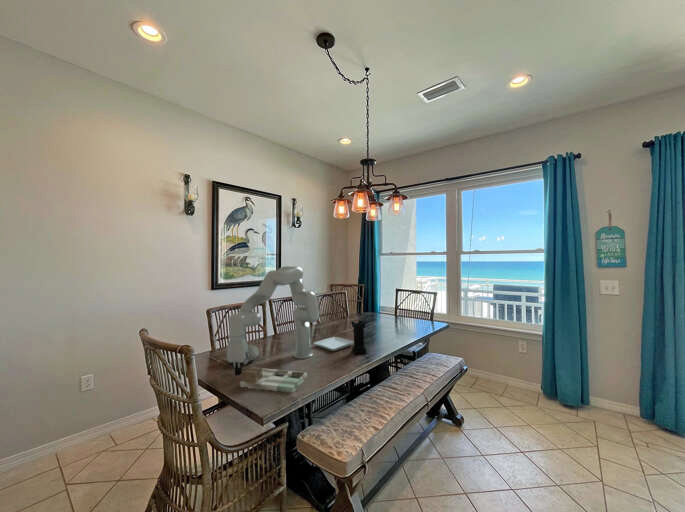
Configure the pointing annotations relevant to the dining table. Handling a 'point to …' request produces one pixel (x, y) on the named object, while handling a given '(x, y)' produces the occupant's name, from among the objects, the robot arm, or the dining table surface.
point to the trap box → (277, 380)
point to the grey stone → (252, 352)
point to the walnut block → (253, 374)
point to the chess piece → (358, 338)
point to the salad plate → (334, 343)
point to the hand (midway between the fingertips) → (238, 374)
